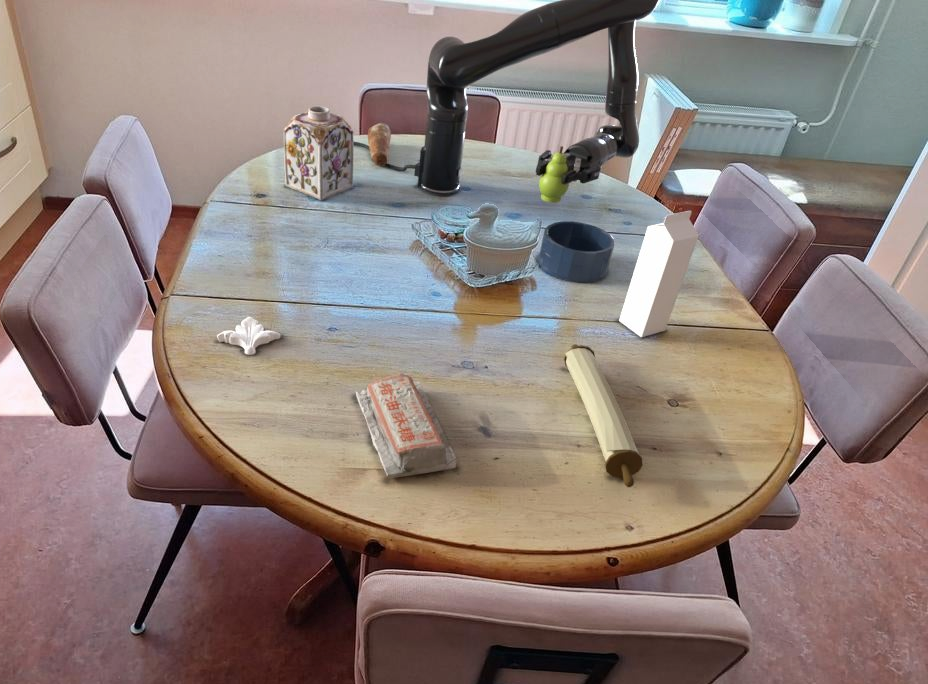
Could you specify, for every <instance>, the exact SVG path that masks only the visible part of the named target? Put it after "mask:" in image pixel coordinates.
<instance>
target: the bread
mask: <svg viewBox="0 0 928 684" xmlns="http://www.w3.org/2000/svg"><path fill="white" fill-rule="evenodd" d="M391 138H392V131H391V129H390V127H389V125H388V124H387V123H383V122H378V123H377V124H375V125H373V126H371V127H369V128H368V129H367V141H368V146H369V148H370V151H369V154H370V153H371V154H370V157H371V162H372V163H373V164H374V165H375V166H377V167H385V166H384V165H386V163H388V161H389V160H388V159H389V152H390V147H391V146H390V144H391Z"/></svg>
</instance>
